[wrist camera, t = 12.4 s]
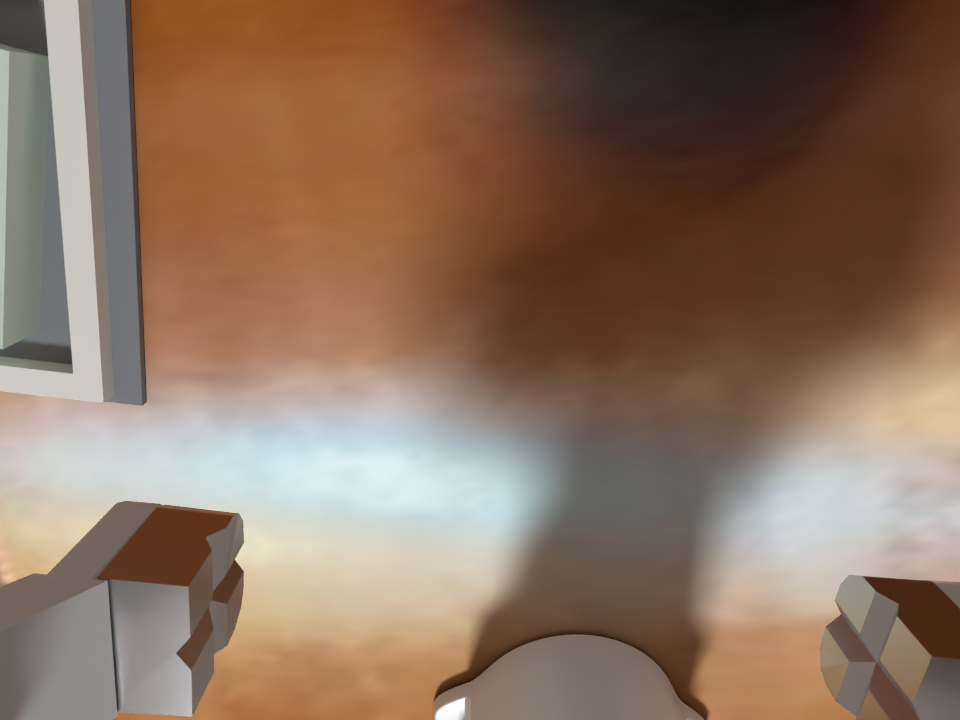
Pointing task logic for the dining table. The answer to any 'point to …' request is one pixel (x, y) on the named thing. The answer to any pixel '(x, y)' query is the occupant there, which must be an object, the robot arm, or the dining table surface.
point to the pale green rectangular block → (22, 189)
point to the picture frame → (84, 207)
